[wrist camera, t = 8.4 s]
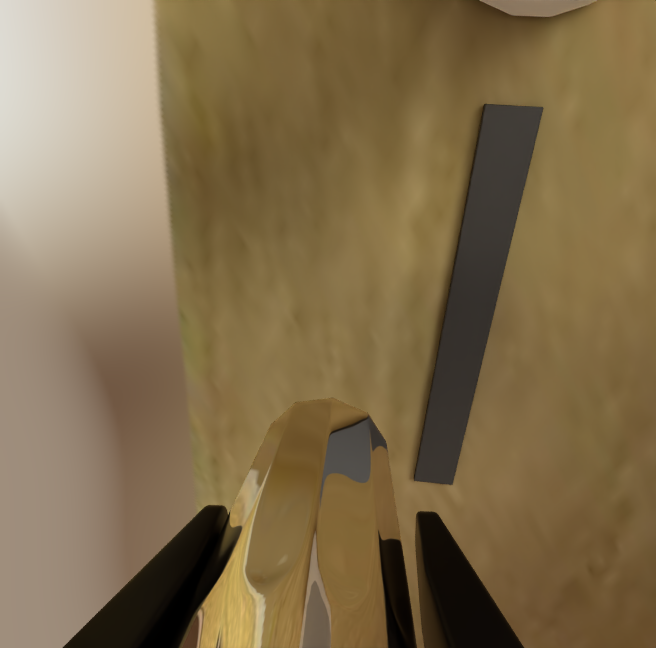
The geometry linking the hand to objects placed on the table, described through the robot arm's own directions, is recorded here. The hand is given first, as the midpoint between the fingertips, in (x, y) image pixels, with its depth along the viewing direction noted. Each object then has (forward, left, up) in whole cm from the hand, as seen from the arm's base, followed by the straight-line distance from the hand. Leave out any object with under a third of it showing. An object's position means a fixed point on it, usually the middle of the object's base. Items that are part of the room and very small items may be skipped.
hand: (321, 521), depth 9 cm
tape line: (0, -5, -9) cm, 10 cm away
